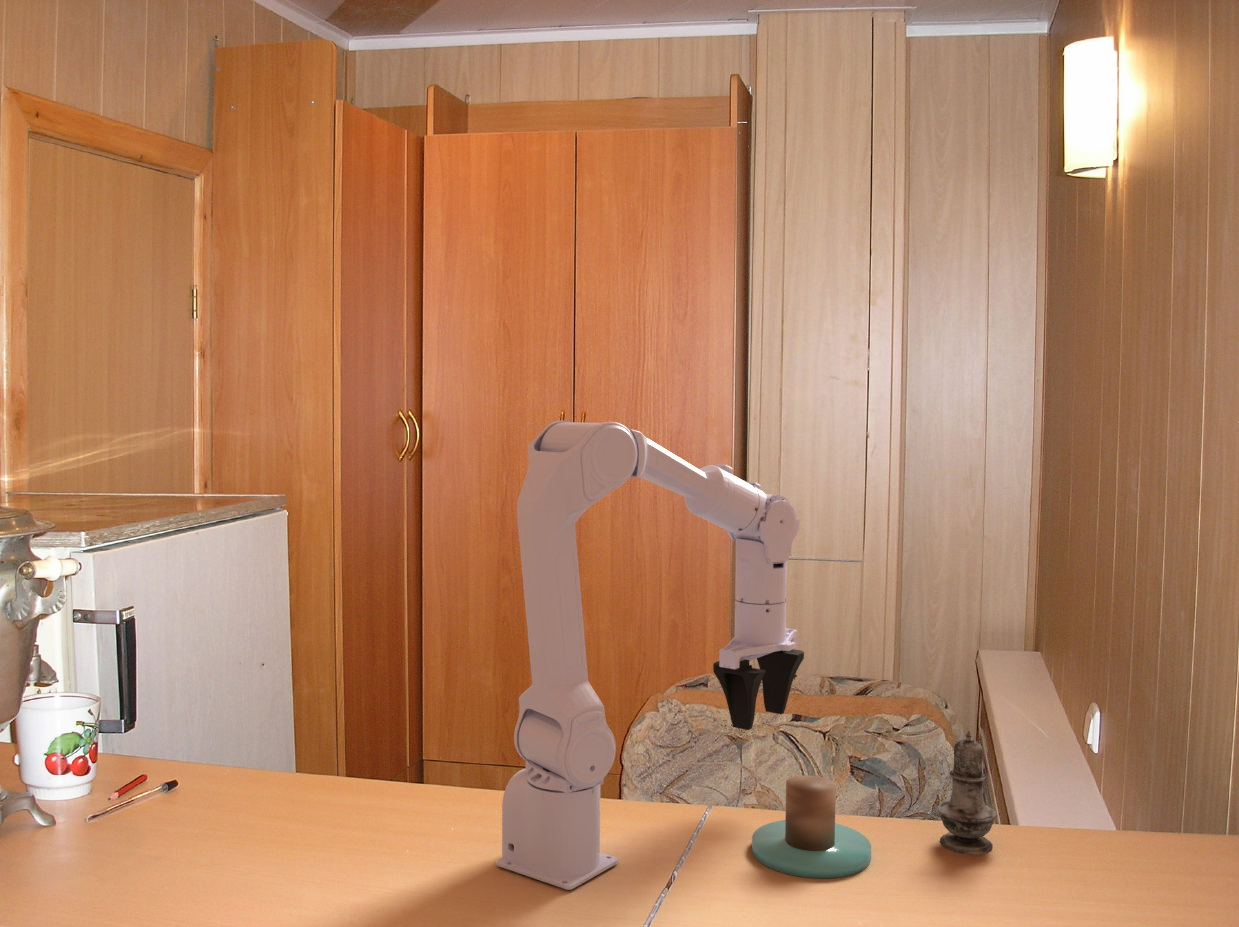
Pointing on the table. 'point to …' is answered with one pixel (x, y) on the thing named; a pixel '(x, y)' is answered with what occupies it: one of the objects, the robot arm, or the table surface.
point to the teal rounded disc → (812, 853)
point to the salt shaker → (967, 802)
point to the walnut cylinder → (810, 813)
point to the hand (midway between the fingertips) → (758, 719)
